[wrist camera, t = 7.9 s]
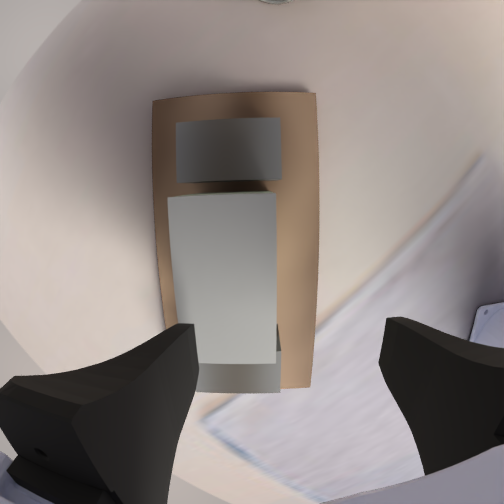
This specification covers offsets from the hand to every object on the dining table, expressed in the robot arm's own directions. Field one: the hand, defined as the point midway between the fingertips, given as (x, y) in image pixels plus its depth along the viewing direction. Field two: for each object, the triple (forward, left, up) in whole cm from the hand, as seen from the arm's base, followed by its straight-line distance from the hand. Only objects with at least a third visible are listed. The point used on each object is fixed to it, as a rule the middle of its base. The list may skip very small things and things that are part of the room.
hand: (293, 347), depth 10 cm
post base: (+3, -2, -9) cm, 10 cm away
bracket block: (+3, -2, -8) cm, 9 cm away
